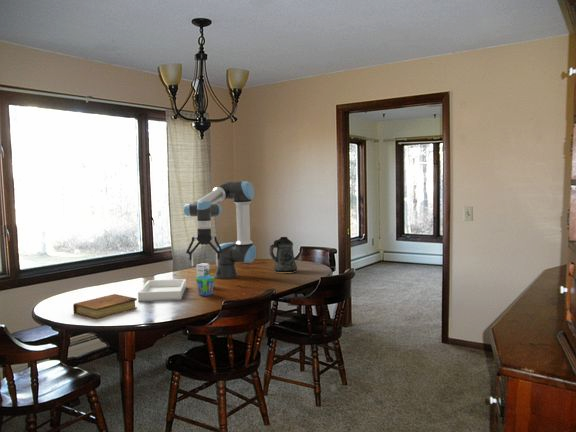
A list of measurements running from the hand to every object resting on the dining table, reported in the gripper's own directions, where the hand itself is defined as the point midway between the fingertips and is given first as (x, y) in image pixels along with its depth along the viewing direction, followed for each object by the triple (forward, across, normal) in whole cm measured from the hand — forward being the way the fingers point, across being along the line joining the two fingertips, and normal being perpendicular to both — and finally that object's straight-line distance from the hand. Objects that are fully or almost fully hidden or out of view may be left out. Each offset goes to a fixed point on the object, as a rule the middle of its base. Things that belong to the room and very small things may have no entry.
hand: (204, 265), depth 260 cm
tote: (+17, -24, +6) cm, 30 cm away
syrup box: (+17, -2, +20) cm, 27 cm away
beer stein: (+16, +53, +60) cm, 82 cm away
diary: (+18, -48, -26) cm, 57 cm away
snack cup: (+17, 0, 0) cm, 17 cm away
